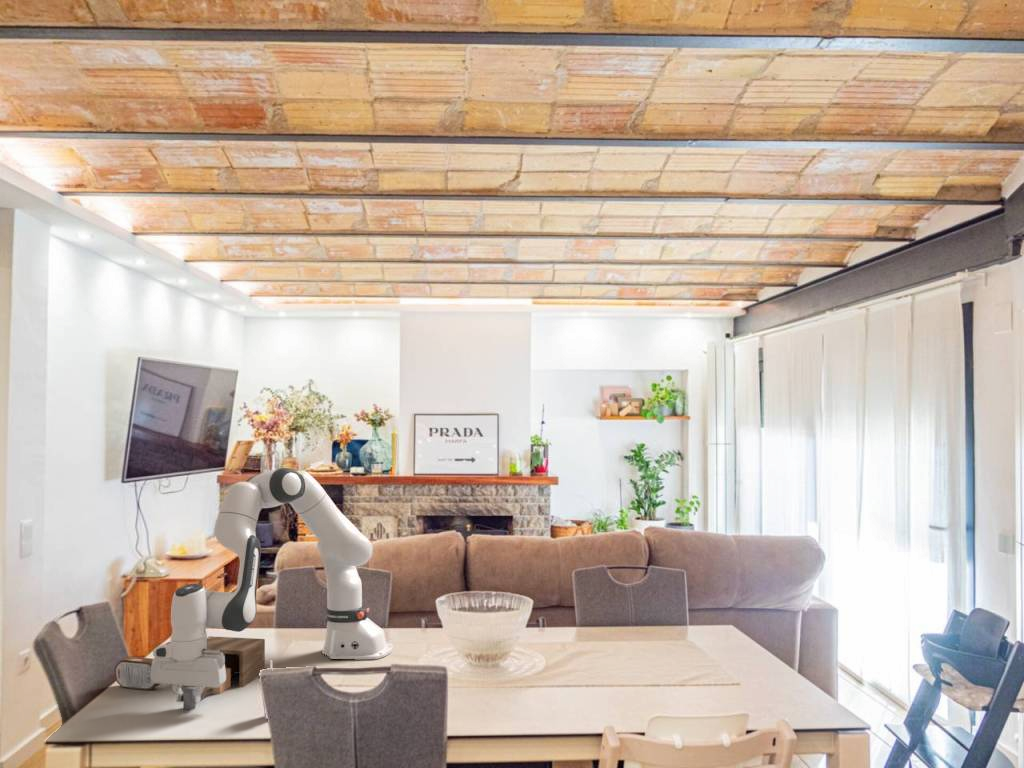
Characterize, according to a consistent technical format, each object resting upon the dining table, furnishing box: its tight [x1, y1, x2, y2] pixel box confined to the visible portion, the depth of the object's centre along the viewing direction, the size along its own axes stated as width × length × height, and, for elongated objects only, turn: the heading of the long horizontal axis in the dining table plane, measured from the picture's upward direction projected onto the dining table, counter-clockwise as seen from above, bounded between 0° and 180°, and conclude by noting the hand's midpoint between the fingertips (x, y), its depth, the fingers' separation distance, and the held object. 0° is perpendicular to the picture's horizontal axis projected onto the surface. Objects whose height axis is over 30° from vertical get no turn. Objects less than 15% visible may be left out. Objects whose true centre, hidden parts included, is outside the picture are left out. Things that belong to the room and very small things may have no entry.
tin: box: [114, 656, 161, 691], centre depth 221 cm, size 15×3×8 cm, turn 74°
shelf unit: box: [207, 636, 266, 688], centre depth 229 cm, size 18×12×10 cm, turn 78°
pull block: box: [182, 668, 232, 711], centre depth 213 cm, size 5×18×5 cm, turn 172°
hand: (188, 701), depth 204 cm, fingers closed on pull block, 3 cm apart
